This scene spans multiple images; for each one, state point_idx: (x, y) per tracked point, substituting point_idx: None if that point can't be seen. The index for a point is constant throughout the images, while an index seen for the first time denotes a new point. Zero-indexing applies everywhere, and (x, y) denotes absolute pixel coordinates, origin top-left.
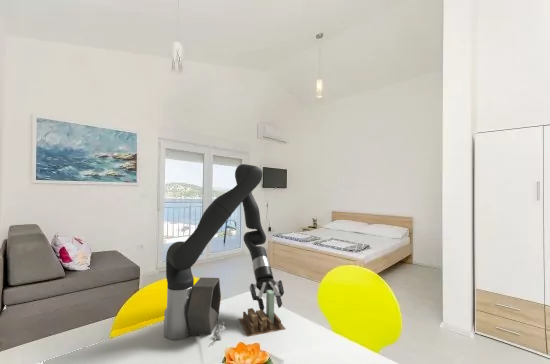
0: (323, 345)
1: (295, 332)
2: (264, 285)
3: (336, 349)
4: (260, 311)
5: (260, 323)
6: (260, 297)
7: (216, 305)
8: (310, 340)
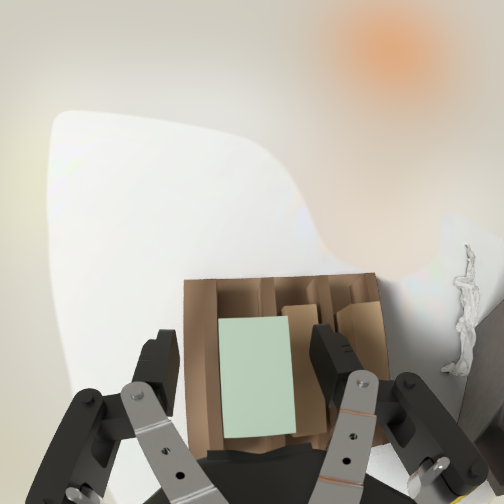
0: (111, 165)
1: (147, 265)
2: (329, 485)
3: (96, 144)
4: (300, 416)
5: (328, 284)
6: (360, 375)
7: (494, 463)
8: (128, 197)
